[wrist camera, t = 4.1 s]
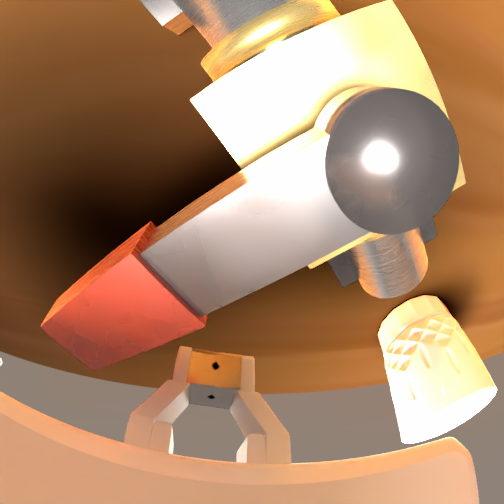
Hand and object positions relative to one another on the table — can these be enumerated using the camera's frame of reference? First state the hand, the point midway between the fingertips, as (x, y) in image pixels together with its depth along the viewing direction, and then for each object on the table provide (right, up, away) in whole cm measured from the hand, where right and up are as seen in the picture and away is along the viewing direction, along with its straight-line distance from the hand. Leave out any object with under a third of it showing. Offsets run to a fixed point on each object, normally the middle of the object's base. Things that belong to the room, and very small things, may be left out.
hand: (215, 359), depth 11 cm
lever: (0, +5, -3) cm, 5 cm away
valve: (+4, +11, +2) cm, 12 cm away
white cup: (+15, -2, +11) cm, 19 cm away
